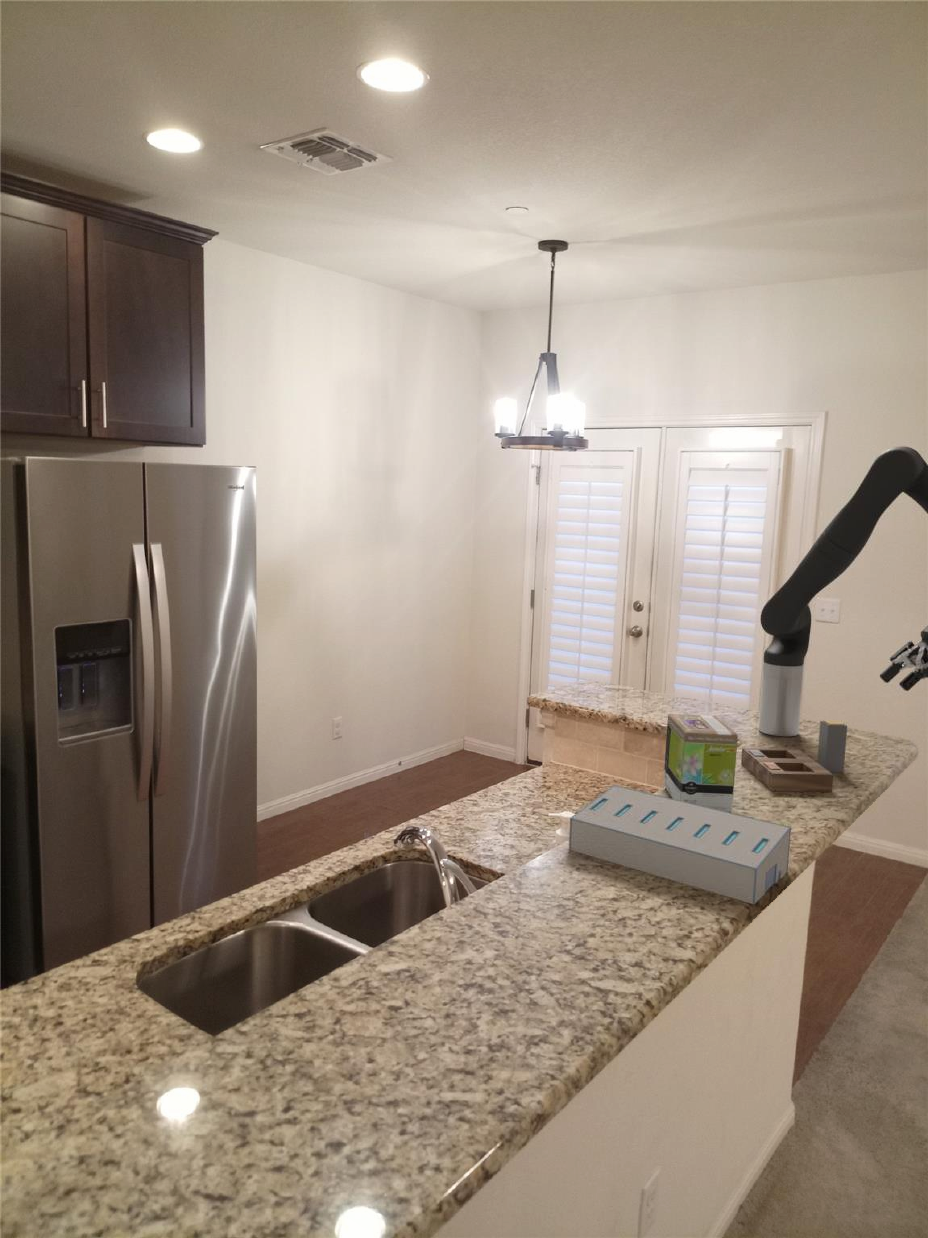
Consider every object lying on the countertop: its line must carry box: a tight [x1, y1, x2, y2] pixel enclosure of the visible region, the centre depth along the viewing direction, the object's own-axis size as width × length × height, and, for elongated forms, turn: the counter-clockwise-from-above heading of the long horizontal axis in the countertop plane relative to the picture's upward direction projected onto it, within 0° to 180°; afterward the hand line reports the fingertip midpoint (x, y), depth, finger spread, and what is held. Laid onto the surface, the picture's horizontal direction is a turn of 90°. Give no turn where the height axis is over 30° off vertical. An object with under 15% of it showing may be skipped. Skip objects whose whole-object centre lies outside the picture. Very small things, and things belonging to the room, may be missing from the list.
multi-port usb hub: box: [568, 784, 792, 906], centre depth 139 cm, size 30×14×8 cm, turn 52°
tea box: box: [663, 713, 739, 813], centre depth 168 cm, size 15×10×15 cm
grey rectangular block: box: [816, 719, 848, 773], centre depth 189 cm, size 4×4×10 cm
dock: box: [740, 747, 834, 793], centre depth 183 cm, size 18×12×4 cm, turn 1°
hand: (892, 683), depth 187 cm, fingers open, 8 cm apart
